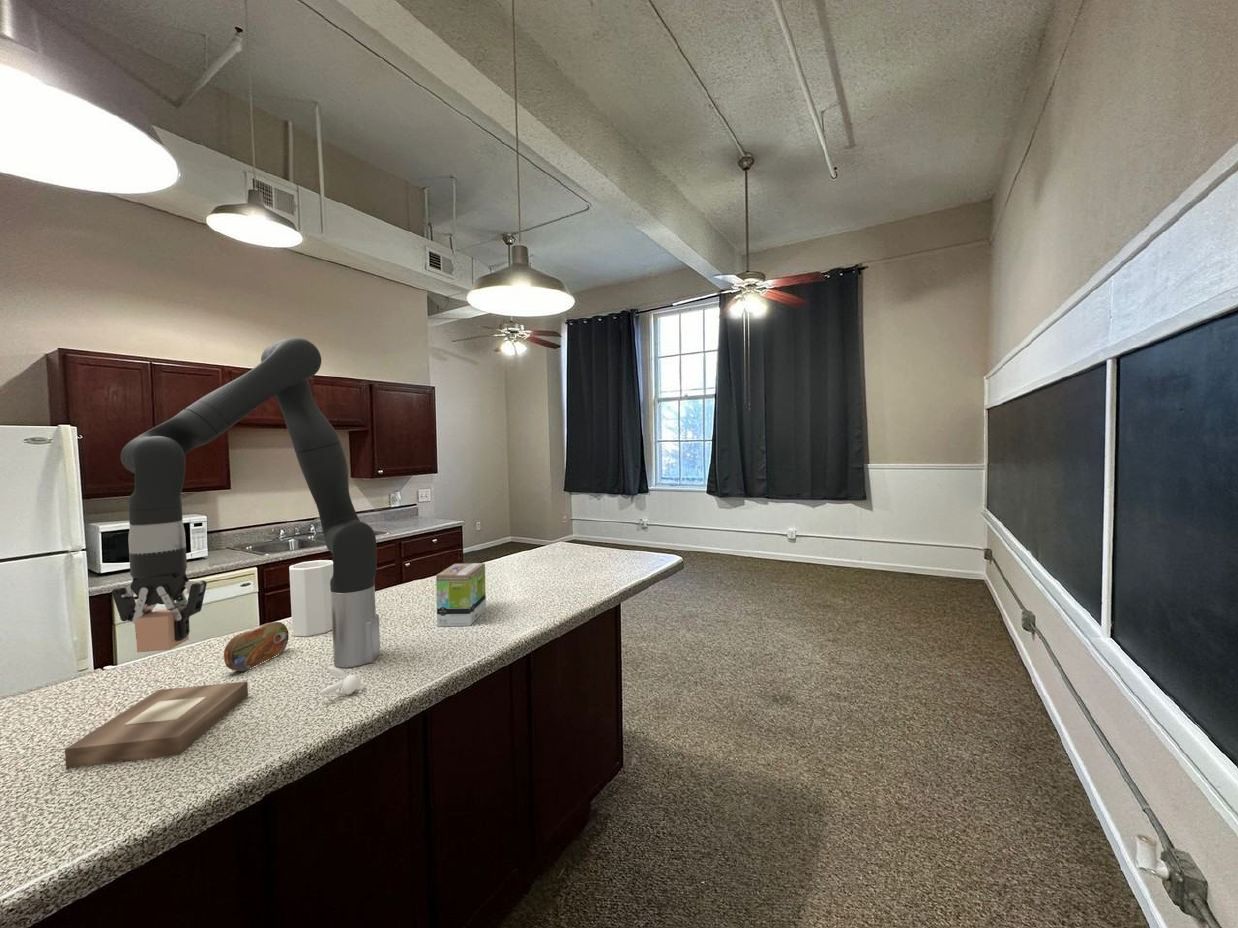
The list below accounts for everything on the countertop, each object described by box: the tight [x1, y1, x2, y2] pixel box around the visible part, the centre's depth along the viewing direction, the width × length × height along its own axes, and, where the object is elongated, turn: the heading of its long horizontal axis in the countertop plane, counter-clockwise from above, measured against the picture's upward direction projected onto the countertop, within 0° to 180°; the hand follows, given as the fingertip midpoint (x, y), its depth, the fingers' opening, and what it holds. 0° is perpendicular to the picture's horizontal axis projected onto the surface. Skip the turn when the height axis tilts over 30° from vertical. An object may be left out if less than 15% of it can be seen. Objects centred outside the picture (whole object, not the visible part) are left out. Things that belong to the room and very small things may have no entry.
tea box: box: [435, 562, 487, 627], centre depth 146 cm, size 15×10×15 cm, turn 179°
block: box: [134, 608, 190, 653], centre depth 90 cm, size 5×5×6 cm
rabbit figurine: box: [319, 665, 365, 698], centre depth 101 cm, size 6×4×8 cm
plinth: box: [64, 680, 249, 768], centre depth 91 cm, size 16×20×3 cm
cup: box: [288, 559, 333, 637], centre depth 140 cm, size 11×11×18 cm
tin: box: [223, 621, 290, 672], centre depth 118 cm, size 15×3×8 cm, turn 168°
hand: (163, 640), depth 90 cm, fingers closed on block, 5 cm apart
